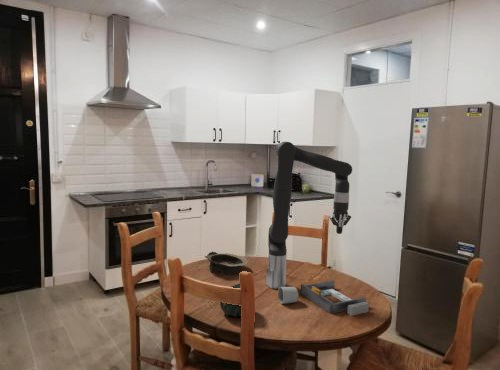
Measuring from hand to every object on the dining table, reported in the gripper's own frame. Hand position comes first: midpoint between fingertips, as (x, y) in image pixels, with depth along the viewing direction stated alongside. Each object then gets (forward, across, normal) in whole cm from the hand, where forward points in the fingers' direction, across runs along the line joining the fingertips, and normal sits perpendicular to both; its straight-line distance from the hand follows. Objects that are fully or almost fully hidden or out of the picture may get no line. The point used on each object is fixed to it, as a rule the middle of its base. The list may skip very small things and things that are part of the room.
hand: (339, 233), depth 200 cm
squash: (+30, +61, +12) cm, 69 cm away
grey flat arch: (+29, +13, +15) cm, 35 cm away
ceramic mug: (+29, +34, +8) cm, 46 cm away
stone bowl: (+30, +45, -43) cm, 69 cm away
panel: (+28, +10, +30) cm, 43 cm away
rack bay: (+28, +13, +14) cm, 34 cm away
